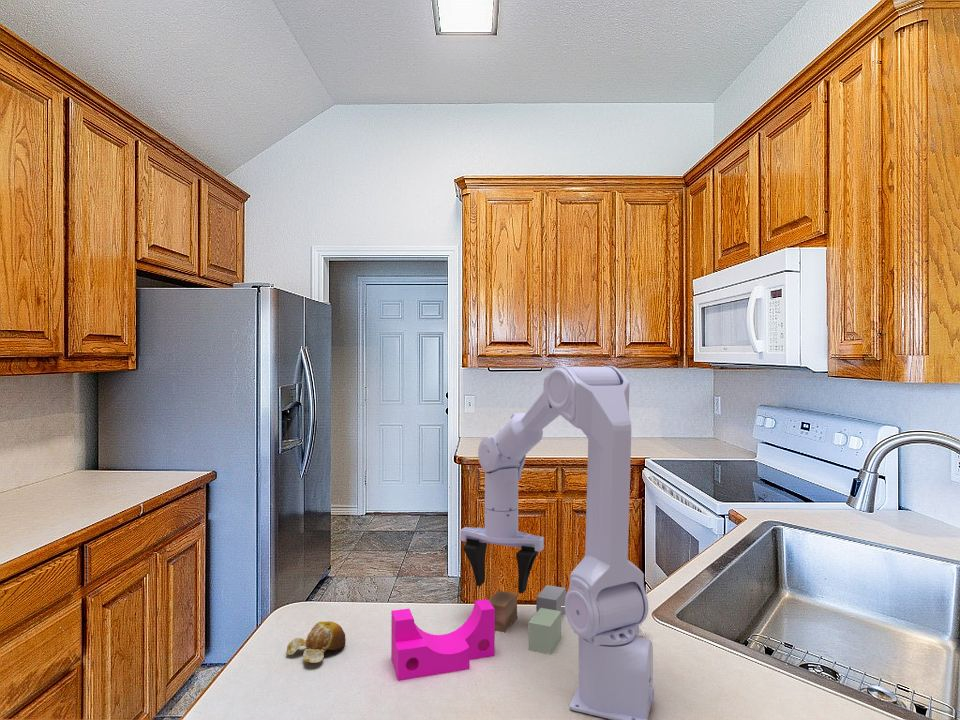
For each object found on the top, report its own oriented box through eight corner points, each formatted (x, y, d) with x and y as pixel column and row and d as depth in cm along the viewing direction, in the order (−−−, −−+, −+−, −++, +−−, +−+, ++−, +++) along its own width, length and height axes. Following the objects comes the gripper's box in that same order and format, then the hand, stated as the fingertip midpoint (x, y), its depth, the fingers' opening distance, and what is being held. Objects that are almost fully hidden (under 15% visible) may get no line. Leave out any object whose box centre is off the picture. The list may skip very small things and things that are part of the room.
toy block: (397, 682, 82) (398, 628, 82) (391, 661, 88) (391, 610, 88) (499, 666, 86) (500, 615, 86) (487, 647, 92) (487, 599, 92)
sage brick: (561, 639, 94) (561, 611, 94) (550, 656, 89) (550, 626, 89) (540, 635, 96) (540, 607, 96) (528, 651, 90) (528, 622, 90)
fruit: (280, 649, 89) (281, 625, 90) (326, 634, 96) (328, 611, 96) (310, 667, 84) (311, 641, 84) (357, 650, 90) (359, 625, 90)
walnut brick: (517, 619, 102) (517, 593, 102) (504, 634, 96) (504, 606, 96) (498, 616, 103) (498, 590, 103) (484, 630, 97) (485, 603, 98)
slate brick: (565, 613, 104) (565, 587, 104) (556, 627, 99) (556, 600, 99) (546, 610, 106) (546, 585, 106) (536, 623, 100) (536, 597, 100)
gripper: (549, 506, 101) (549, 585, 100) (472, 498, 106) (471, 573, 106) (536, 516, 94) (536, 601, 94) (455, 507, 100) (454, 587, 100)
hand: (501, 587), depth 100 cm, fingers open, 7 cm apart
